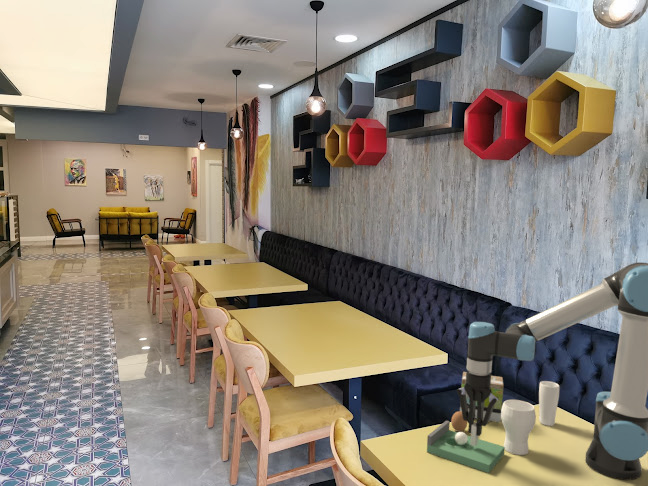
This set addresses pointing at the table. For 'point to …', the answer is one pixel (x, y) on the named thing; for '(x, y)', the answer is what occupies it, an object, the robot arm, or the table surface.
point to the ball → (461, 438)
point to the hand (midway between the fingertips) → (474, 444)
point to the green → (463, 449)
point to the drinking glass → (548, 402)
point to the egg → (458, 421)
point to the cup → (517, 425)
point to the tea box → (496, 391)
